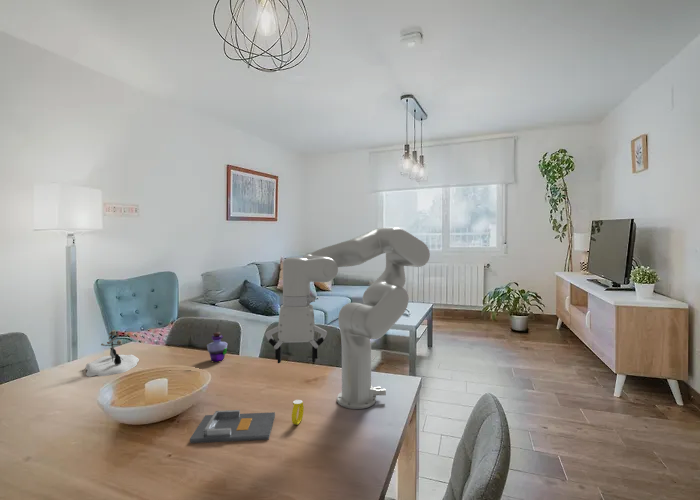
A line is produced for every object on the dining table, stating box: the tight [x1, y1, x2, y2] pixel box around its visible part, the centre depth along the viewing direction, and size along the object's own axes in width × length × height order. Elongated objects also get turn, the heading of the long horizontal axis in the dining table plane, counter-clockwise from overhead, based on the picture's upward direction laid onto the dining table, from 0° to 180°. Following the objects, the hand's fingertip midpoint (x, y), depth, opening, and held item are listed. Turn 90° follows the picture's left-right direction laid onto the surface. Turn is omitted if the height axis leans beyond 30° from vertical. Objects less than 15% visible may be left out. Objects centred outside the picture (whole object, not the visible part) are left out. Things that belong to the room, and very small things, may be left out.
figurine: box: [85, 329, 140, 377], centre depth 144 cm, size 20×18×16 cm
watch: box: [291, 399, 305, 426], centre depth 101 cm, size 6×3×6 cm, turn 168°
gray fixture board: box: [189, 409, 276, 444], centre depth 97 cm, size 20×12×3 cm, turn 94°
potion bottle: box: [206, 331, 229, 363], centre depth 152 cm, size 9×9×12 cm
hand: (296, 361), depth 100 cm, fingers open, 9 cm apart
